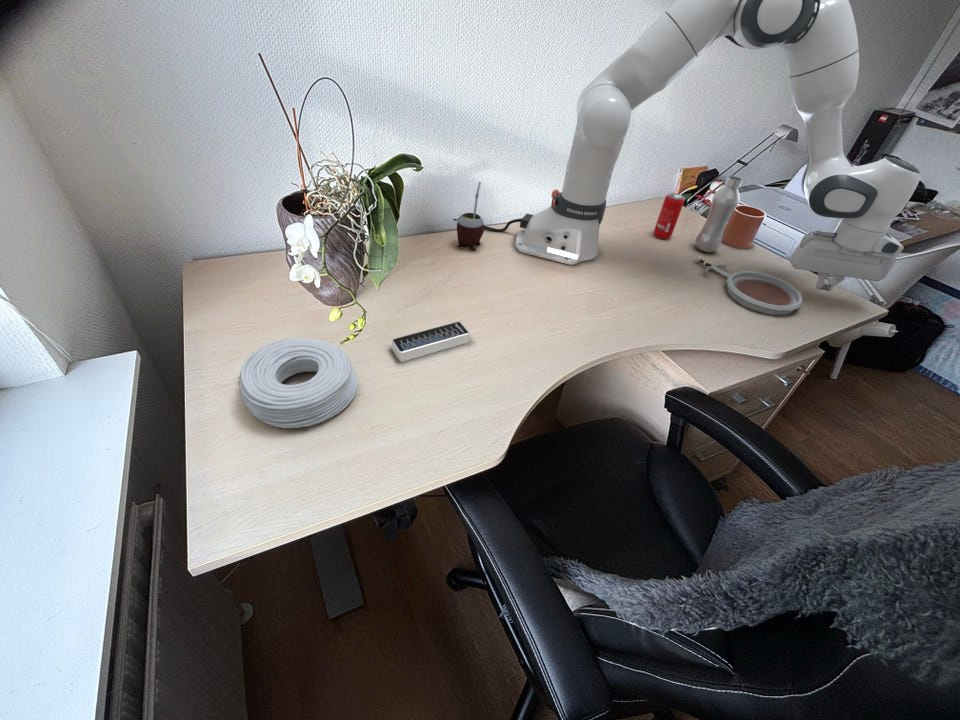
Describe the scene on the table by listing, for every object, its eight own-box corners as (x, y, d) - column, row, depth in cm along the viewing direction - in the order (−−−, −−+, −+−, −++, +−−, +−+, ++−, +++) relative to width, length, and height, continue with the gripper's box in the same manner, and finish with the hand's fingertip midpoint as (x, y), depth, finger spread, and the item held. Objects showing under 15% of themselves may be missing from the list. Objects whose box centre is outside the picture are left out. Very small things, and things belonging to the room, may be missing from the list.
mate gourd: (461, 253, 117) (465, 195, 108) (450, 239, 123) (453, 183, 113) (488, 249, 120) (493, 193, 110) (476, 236, 125) (480, 181, 116)
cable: (236, 376, 78) (226, 349, 74) (337, 347, 85) (333, 321, 81) (259, 448, 67) (248, 421, 63) (372, 408, 74) (369, 381, 70)
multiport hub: (391, 348, 86) (390, 339, 85) (459, 330, 92) (459, 320, 91) (400, 362, 83) (399, 352, 82) (469, 342, 90) (470, 332, 88)
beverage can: (649, 232, 136) (662, 192, 128) (663, 231, 137) (678, 192, 130) (659, 240, 132) (673, 199, 125) (674, 239, 134) (689, 199, 126)
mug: (754, 242, 136) (769, 211, 130) (745, 251, 131) (761, 219, 125) (716, 229, 142) (729, 199, 136) (706, 237, 137) (719, 206, 130)
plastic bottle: (702, 255, 127) (733, 183, 114) (688, 244, 132) (716, 174, 119) (721, 254, 128) (754, 182, 115) (706, 243, 133) (736, 173, 120)
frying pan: (718, 247, 126) (819, 296, 108) (714, 257, 128) (812, 306, 110) (677, 259, 119) (778, 313, 101) (673, 269, 120) (772, 324, 103)
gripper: (813, 234, 101) (781, 288, 110) (912, 249, 99) (871, 302, 108) (803, 223, 106) (774, 275, 115) (897, 237, 104) (860, 289, 113)
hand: (822, 289), depth 112 cm, fingers closed
